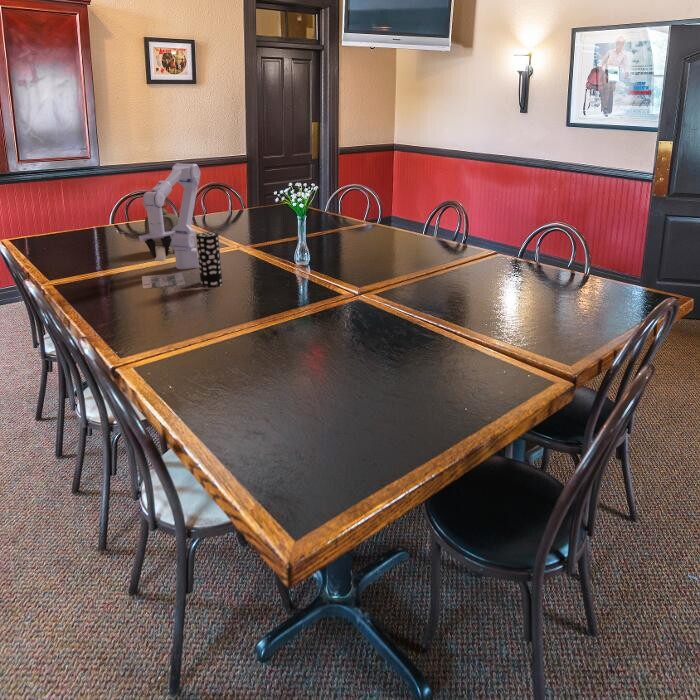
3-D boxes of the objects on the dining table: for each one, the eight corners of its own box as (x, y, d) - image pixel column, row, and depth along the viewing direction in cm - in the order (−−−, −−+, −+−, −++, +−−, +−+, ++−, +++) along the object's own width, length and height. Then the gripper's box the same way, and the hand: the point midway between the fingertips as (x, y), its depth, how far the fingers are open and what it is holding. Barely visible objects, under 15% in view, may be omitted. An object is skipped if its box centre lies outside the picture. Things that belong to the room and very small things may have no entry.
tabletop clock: (147, 253, 310) (141, 199, 300) (156, 249, 318) (149, 196, 309) (176, 254, 307) (170, 200, 298) (184, 250, 316) (179, 197, 306)
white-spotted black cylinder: (226, 282, 262) (222, 233, 255) (215, 288, 255) (211, 237, 247) (207, 281, 265) (203, 231, 257) (196, 286, 257) (191, 236, 250)
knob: (166, 260, 264) (164, 247, 262) (155, 261, 263) (153, 248, 261) (165, 257, 269) (164, 244, 267) (154, 258, 268) (153, 245, 266)
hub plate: (182, 275, 273) (181, 269, 272) (185, 286, 257) (185, 280, 257) (142, 278, 269) (141, 272, 268) (143, 290, 253) (142, 284, 252)
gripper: (168, 218, 267) (172, 251, 272) (134, 223, 259) (138, 257, 264) (176, 221, 262) (180, 254, 267) (141, 226, 254) (145, 260, 259)
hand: (160, 256), depth 265 cm, fingers closed on knob, 4 cm apart
